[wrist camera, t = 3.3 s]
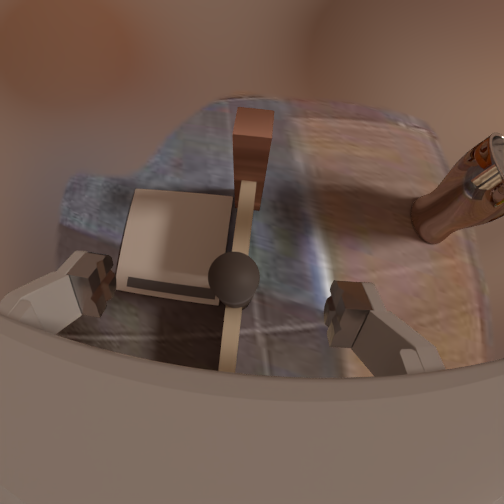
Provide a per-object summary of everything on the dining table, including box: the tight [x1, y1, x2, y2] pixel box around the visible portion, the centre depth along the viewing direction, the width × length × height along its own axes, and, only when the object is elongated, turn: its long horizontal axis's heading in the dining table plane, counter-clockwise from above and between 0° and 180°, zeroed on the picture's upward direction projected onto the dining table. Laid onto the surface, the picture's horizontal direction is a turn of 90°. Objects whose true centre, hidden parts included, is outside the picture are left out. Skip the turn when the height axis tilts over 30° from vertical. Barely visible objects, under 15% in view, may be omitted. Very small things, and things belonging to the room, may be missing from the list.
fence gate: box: [232, 107, 274, 256], centre depth 22 cm, size 9×2×12 cm, turn 174°
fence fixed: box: [208, 252, 260, 373], centre depth 19 cm, size 15×3×13 cm, turn 174°
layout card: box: [116, 189, 233, 306], centre depth 27 cm, size 11×11×1 cm
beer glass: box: [411, 133, 504, 244], centre depth 22 cm, size 7×7×15 cm
